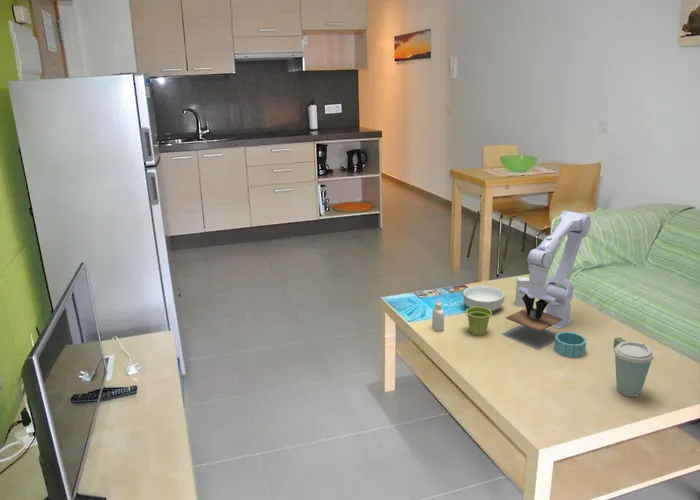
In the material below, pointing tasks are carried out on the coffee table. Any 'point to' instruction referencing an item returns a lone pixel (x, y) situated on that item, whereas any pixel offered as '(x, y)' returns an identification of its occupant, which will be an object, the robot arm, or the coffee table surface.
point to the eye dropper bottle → (438, 317)
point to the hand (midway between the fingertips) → (534, 316)
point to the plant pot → (478, 320)
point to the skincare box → (519, 302)
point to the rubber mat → (531, 336)
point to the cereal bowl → (483, 297)
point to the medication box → (618, 341)
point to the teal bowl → (570, 344)
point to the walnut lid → (534, 319)
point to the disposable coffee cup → (632, 366)
